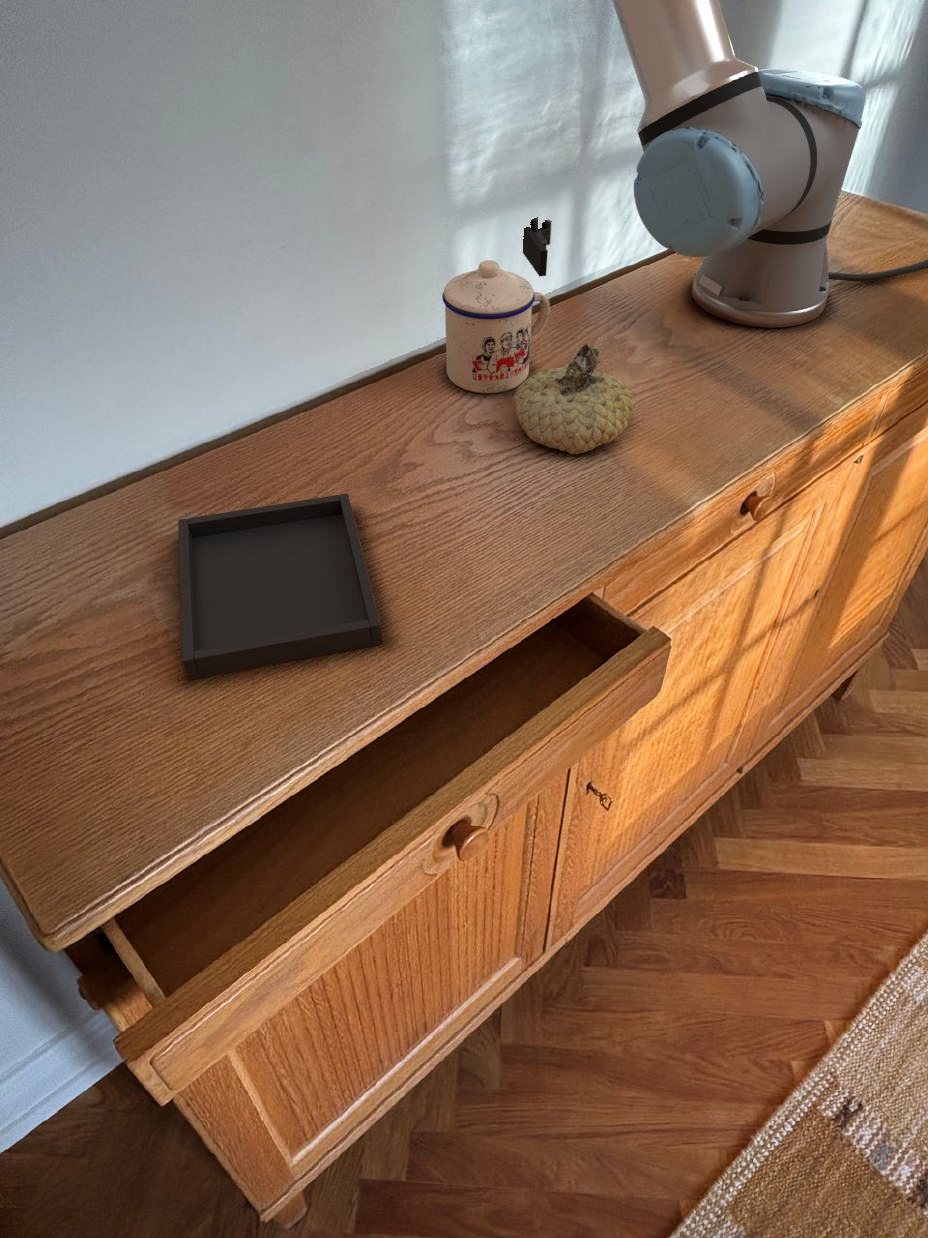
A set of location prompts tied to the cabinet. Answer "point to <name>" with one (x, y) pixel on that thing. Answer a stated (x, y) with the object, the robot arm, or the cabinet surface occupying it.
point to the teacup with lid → (490, 328)
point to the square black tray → (273, 586)
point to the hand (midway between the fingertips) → (481, 270)
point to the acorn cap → (574, 405)
